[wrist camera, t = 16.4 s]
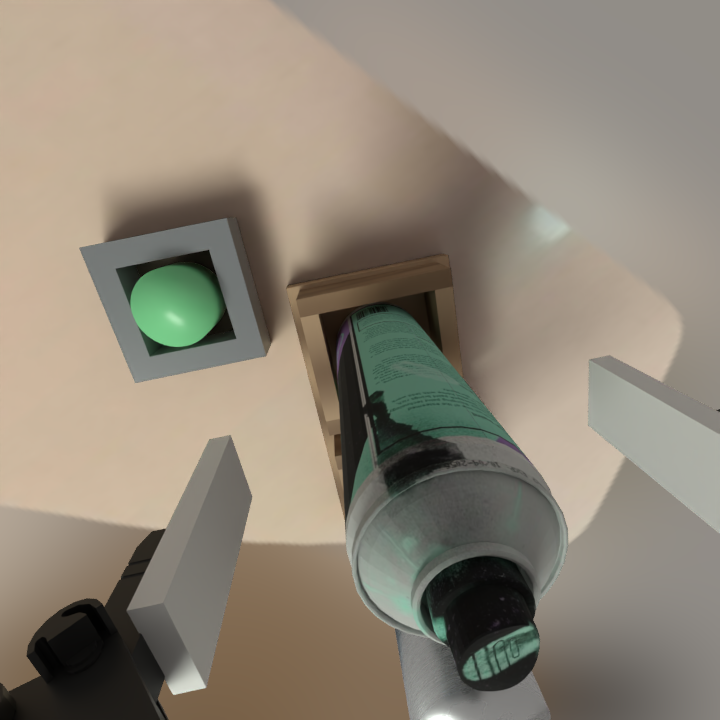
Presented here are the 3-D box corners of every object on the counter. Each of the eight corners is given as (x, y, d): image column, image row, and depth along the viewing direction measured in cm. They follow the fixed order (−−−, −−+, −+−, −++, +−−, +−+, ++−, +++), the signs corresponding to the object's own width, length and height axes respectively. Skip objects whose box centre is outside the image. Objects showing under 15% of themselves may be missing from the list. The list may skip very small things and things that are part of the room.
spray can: (318, 349, 26) (290, 690, 7) (374, 282, 25) (510, 489, 6) (382, 398, 28) (494, 787, 9) (438, 337, 27) (702, 638, 8)
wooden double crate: (287, 285, 26) (281, 298, 22) (443, 253, 26) (464, 260, 22) (347, 522, 32) (350, 565, 28) (471, 496, 32) (491, 535, 29)
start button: (141, 269, 25) (117, 276, 22) (214, 254, 25) (199, 260, 22) (167, 338, 26) (147, 353, 23) (235, 324, 26) (224, 338, 23)
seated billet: (363, 449, 29) (404, 703, 14) (433, 434, 29) (548, 672, 14) (375, 505, 31) (424, 787, 16) (441, 491, 31) (552, 759, 16)
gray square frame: (103, 244, 24) (79, 247, 22) (235, 217, 24) (226, 217, 22) (151, 368, 27) (135, 383, 25) (271, 343, 27) (266, 356, 25)
